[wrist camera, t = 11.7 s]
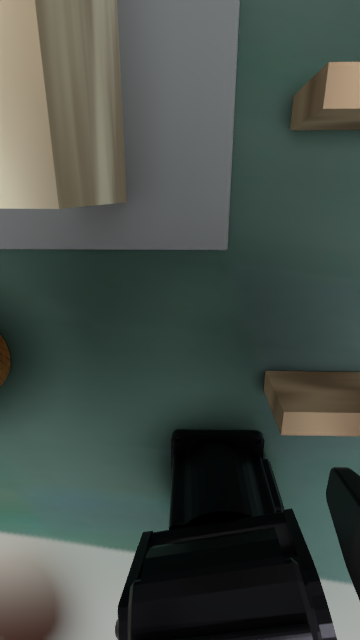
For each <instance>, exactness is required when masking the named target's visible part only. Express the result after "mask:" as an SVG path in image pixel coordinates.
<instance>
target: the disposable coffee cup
mask: <svg viewBox="0 0 360 640" xmlns="http://www.w3.org/2000/svg"><path fill="white" fill-rule="evenodd" d="M9 370H10V354H9V349H8V347H7V345H6V343H5V341H4V339H3V338H2V336H1V335H0V387H1V385H2V384H3V382H4V381H5V380H6V378H7V376H8V374H9Z"/></svg>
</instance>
